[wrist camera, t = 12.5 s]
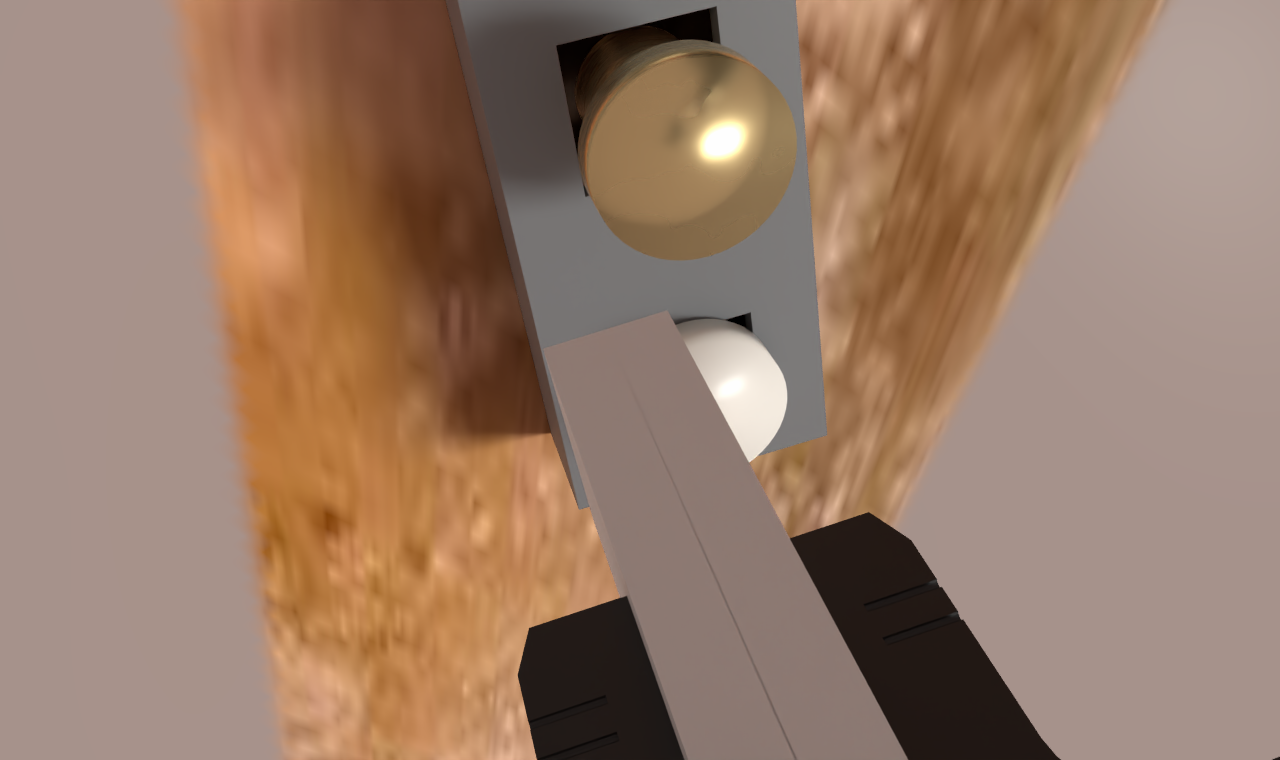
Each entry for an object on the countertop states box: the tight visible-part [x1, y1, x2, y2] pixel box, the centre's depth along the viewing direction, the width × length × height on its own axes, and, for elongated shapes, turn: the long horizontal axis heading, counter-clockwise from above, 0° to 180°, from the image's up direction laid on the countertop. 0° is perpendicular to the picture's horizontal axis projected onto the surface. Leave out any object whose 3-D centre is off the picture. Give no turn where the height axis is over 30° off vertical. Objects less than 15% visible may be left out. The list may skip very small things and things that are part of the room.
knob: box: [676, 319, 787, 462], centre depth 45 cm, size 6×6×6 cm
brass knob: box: [575, 25, 797, 261], centre depth 36 cm, size 6×6×6 cm
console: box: [445, 0, 827, 510], centre depth 39 cm, size 10×30×5 cm, turn 10°
